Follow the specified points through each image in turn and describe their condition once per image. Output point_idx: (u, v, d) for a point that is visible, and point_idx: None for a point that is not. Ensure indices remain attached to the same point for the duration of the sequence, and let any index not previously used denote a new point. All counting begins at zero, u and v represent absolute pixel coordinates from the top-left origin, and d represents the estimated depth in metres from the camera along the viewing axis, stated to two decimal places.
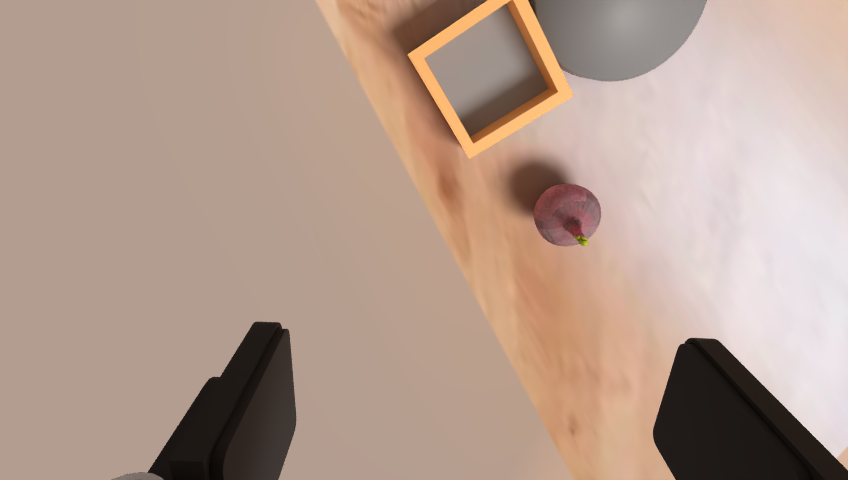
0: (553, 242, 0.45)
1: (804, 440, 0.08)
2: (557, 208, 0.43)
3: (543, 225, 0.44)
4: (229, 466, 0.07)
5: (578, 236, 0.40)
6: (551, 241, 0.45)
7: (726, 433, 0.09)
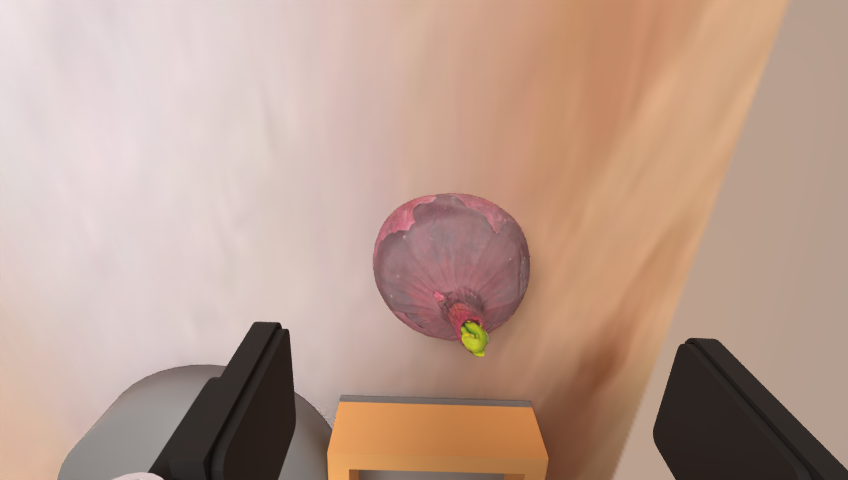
0: (521, 252, 0.17)
1: (804, 440, 0.08)
2: None
3: (516, 304, 0.18)
4: (229, 466, 0.07)
5: (477, 354, 0.14)
6: (523, 254, 0.17)
7: (726, 433, 0.09)
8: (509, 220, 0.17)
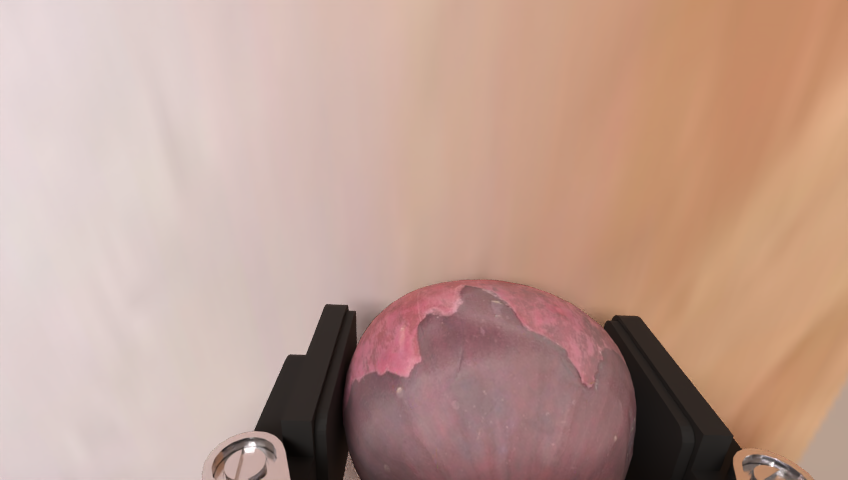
0: (630, 412, 0.09)
1: (693, 400, 0.08)
2: None
3: None
4: (328, 428, 0.08)
5: None
6: (632, 414, 0.09)
7: None
8: (606, 347, 0.09)
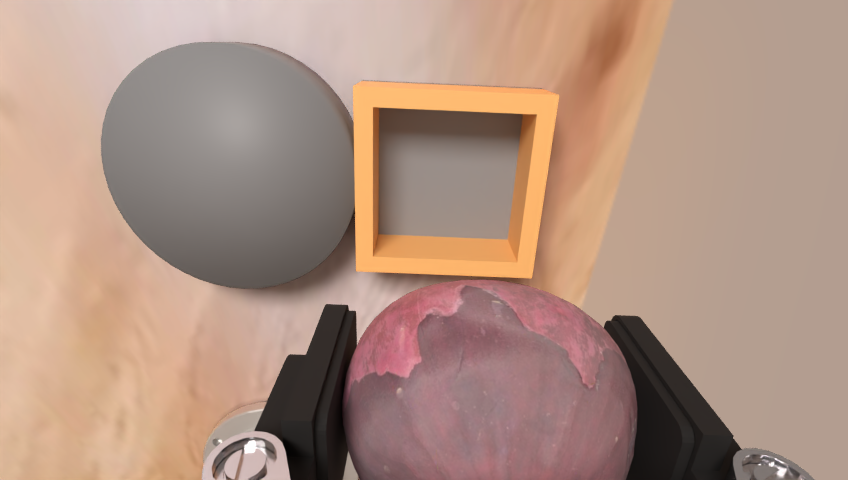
0: (631, 413, 0.09)
1: (693, 401, 0.08)
2: None
3: None
4: (328, 428, 0.08)
5: None
6: (633, 415, 0.09)
7: None
8: (607, 347, 0.09)
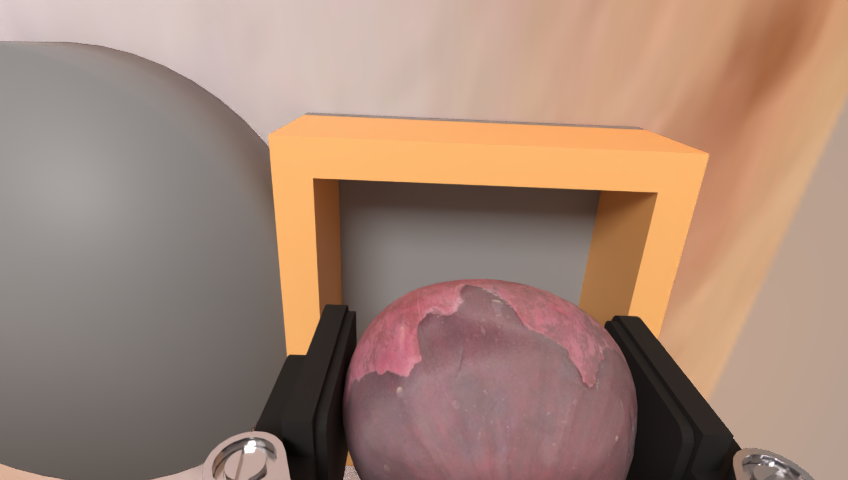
0: (631, 412, 0.09)
1: (693, 401, 0.08)
2: None
3: None
4: (328, 428, 0.08)
5: None
6: (634, 414, 0.09)
7: None
8: (607, 346, 0.09)
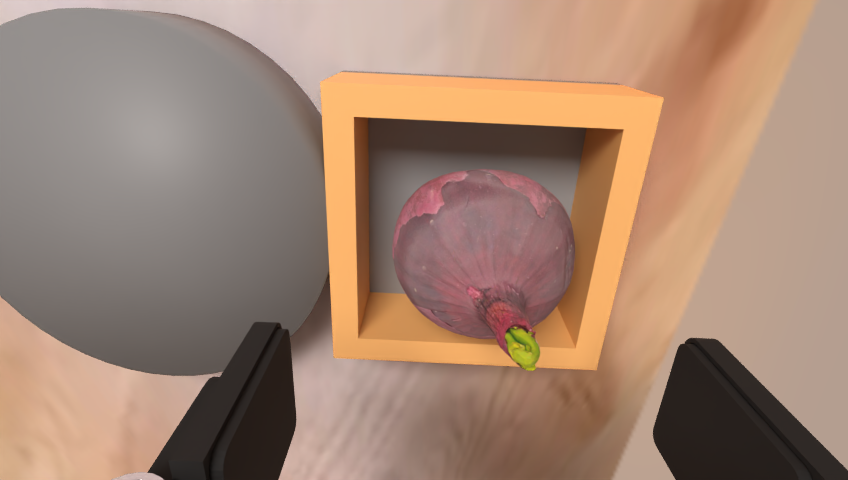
0: (568, 239, 0.14)
1: (804, 440, 0.08)
2: None
3: (560, 299, 0.15)
4: (229, 466, 0.07)
5: (526, 367, 0.11)
6: (570, 242, 0.15)
7: (726, 433, 0.09)
8: (554, 201, 0.15)
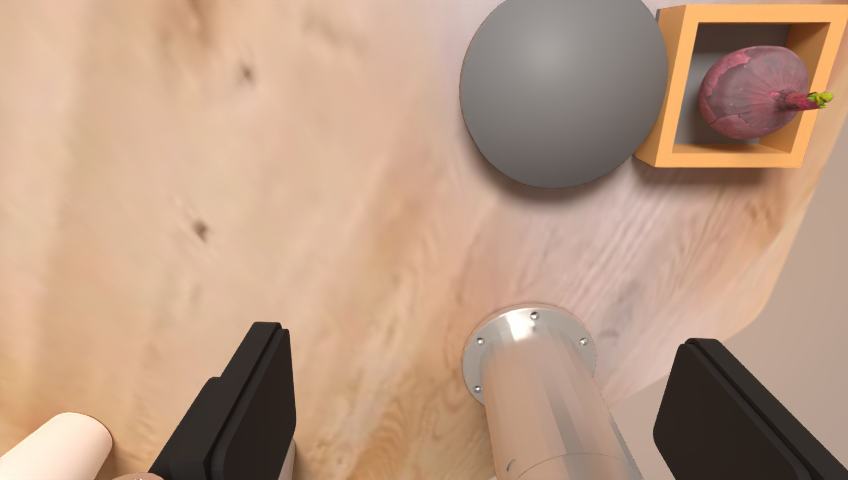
0: (807, 74, 0.30)
1: (804, 440, 0.08)
2: (772, 127, 0.30)
3: None
4: (229, 466, 0.07)
5: (821, 107, 0.26)
6: None
7: (726, 433, 0.09)
8: None
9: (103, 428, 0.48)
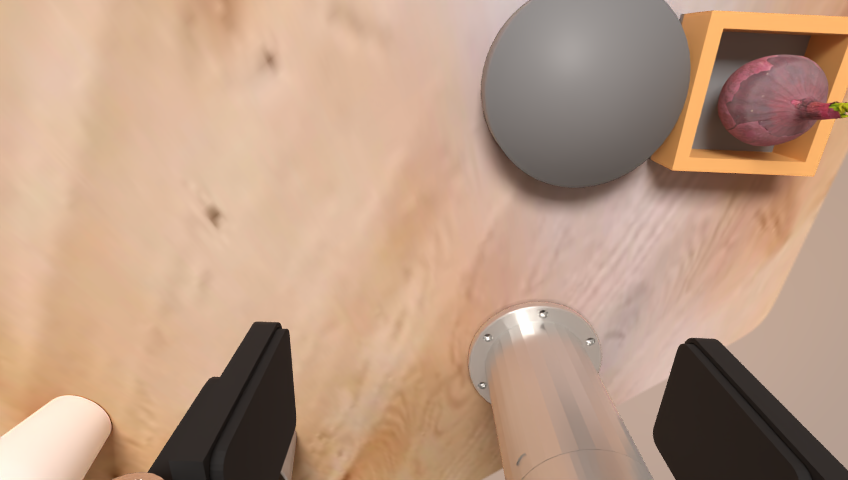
0: None
1: (804, 440, 0.08)
2: (791, 135, 0.31)
3: None
4: (229, 466, 0.07)
5: (843, 117, 0.27)
6: None
7: (726, 433, 0.09)
8: None
9: (103, 412, 0.47)
